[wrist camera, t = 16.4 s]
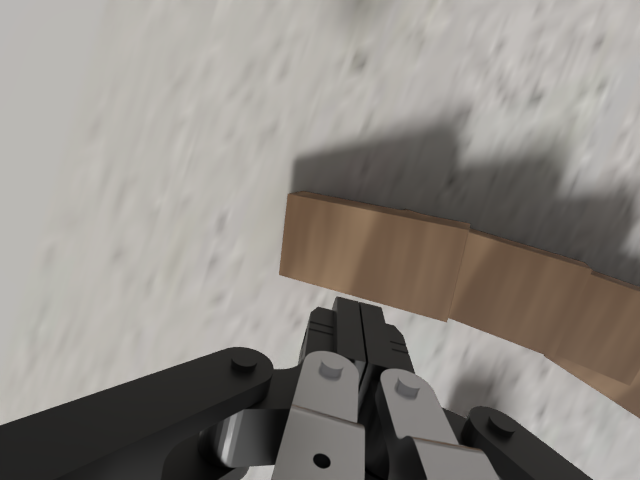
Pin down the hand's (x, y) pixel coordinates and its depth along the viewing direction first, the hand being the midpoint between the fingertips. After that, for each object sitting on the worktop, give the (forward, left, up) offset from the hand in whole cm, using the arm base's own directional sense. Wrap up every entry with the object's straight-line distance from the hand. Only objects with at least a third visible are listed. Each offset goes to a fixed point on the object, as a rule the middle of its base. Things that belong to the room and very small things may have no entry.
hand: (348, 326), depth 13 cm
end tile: (+3, 0, -12) cm, 12 cm away
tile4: (-3, +1, -12) cm, 12 cm away
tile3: (-7, +3, -12) cm, 14 cm away
